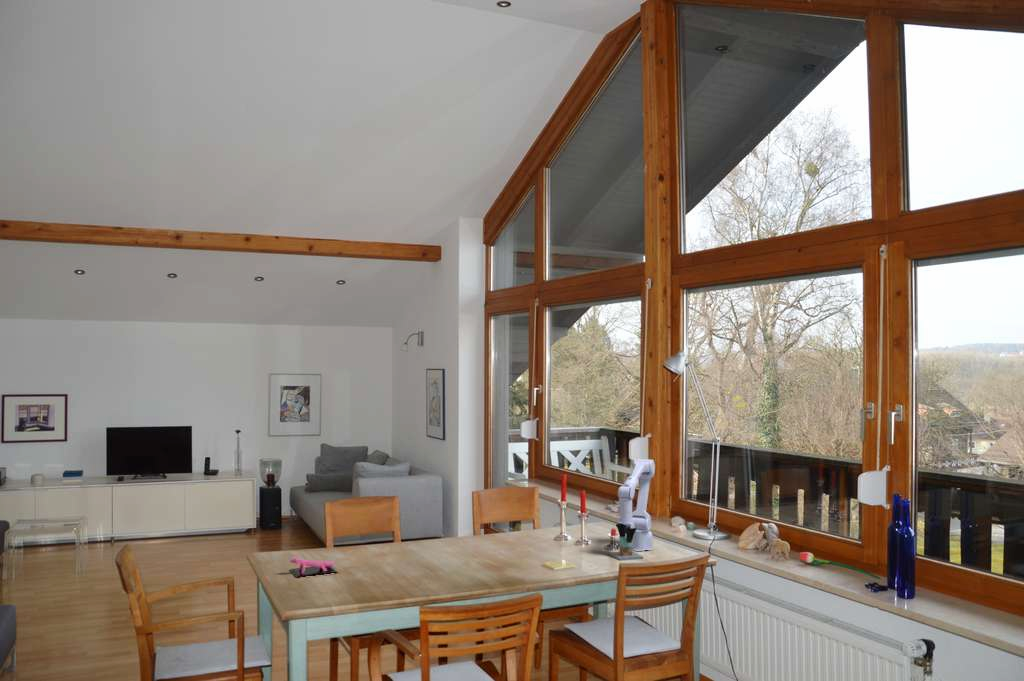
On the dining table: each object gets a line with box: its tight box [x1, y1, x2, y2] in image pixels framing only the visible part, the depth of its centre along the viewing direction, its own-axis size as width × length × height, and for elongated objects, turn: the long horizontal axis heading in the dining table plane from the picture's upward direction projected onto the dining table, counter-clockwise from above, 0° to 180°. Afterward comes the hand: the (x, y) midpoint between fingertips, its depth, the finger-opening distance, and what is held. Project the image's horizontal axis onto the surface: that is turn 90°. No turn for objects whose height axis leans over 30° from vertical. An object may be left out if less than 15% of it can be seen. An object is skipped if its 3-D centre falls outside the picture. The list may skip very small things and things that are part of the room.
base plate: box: [608, 550, 644, 561], centre depth 389 cm, size 12×12×1 cm
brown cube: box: [618, 544, 633, 556], centre depth 389 cm, size 4×4×4 cm
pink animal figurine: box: [288, 557, 339, 579], centre depth 357 cm, size 15×20×7 cm
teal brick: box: [618, 535, 632, 547], centre depth 389 cm, size 4×4×4 cm
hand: (626, 540), depth 389 cm, fingers open, 7 cm apart
